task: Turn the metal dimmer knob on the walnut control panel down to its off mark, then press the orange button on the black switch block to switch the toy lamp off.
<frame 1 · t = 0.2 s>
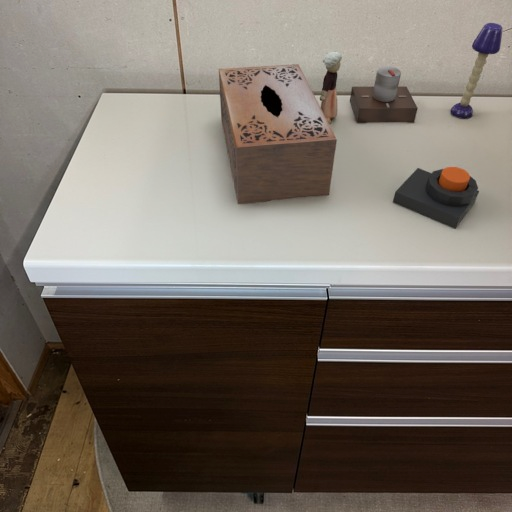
tissue box cover: (269, 155, 83), on the cabinet
lamp switch: (454, 179, 70), point 5 cm above the cabinet, slide at 0.2 cm
dimmer panel: (380, 111, 93), on the cabinet
toy lamp: (461, 115, 93), on the cabinet
switch block: (433, 202, 73), on the cabinet
dimmer knob: (386, 83, 89), point 6 cm above the cabinet, hinge at 100.0°
grandmother figurine: (326, 118, 92), on the cabinet
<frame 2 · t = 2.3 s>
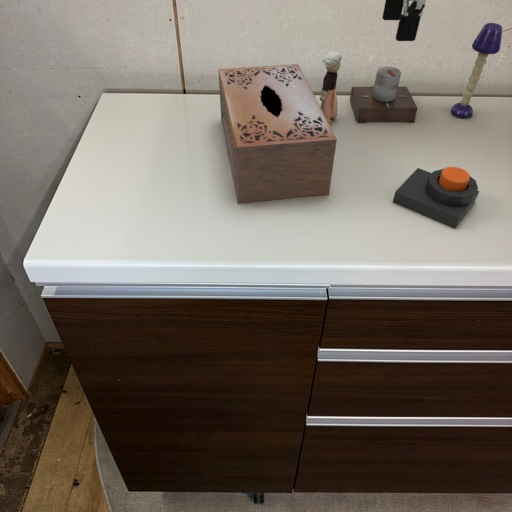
hand: (397, 29, 82), 16 cm above the cabinet, tool pointing down, fingers open, 9 cm apart
nothing on the cabinet moved.
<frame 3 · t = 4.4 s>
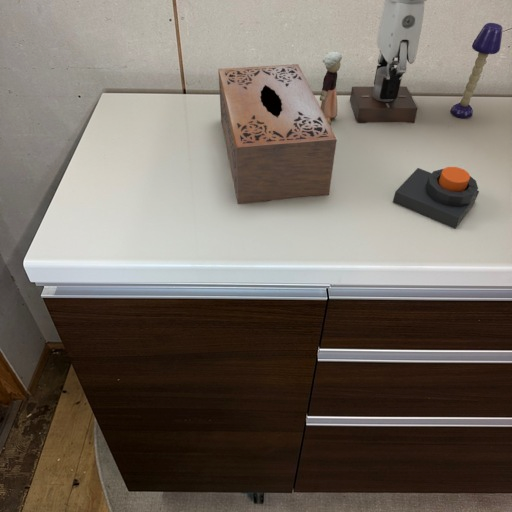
hand: (385, 91, 91), 4 cm above the cabinet, tool pointing down, fingers closed on dimmer knob, 4 cm apart
dimmer knob: (386, 83, 89), point 6 cm above the cabinet, hinge at 100.0°, touching gripper
everything else where it was.
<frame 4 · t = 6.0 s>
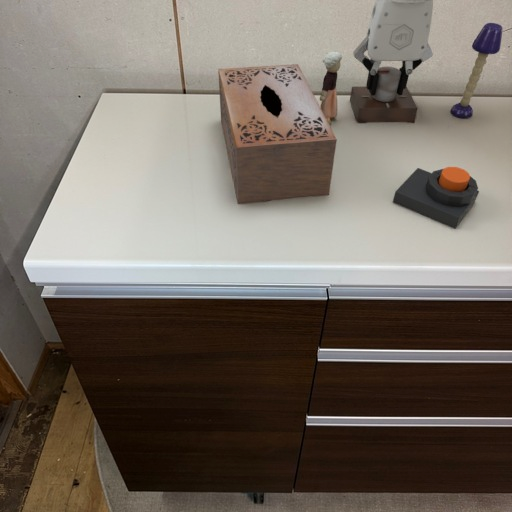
hand: (385, 91, 91), 4 cm above the cabinet, tool pointing down, fingers closed on dimmer knob, 4 cm apart
dimmer knob: (386, 83, 89), point 6 cm above the cabinet, hinge at 10.0°, touching gripper
everything else where it was.
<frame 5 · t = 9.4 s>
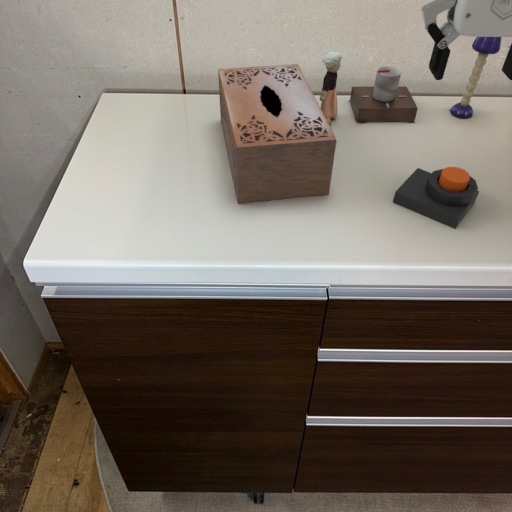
hand: (472, 75, 63), 18 cm above the cabinet, tool pointing down, fingers open, 9 cm apart
dimmer knob: (386, 83, 89), point 6 cm above the cabinet, hinge at 10.7°
everything else where it was.
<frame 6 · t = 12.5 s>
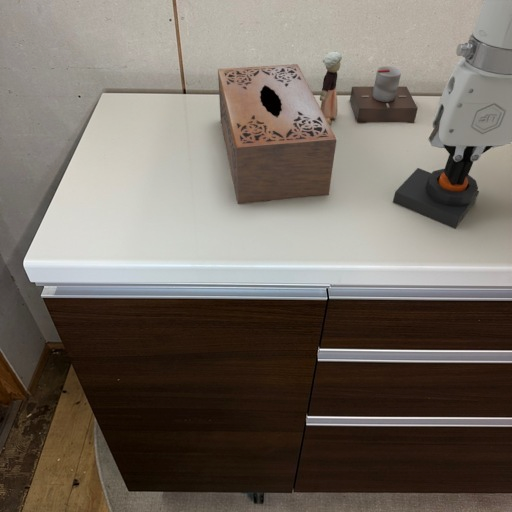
hand: (453, 179, 70), 5 cm above the cabinet, tool pointing down, fingers closed
lamp switch: (452, 183, 70), point 4 cm above the cabinet, slide at -0.7 cm, touching gripper
everything else where it was.
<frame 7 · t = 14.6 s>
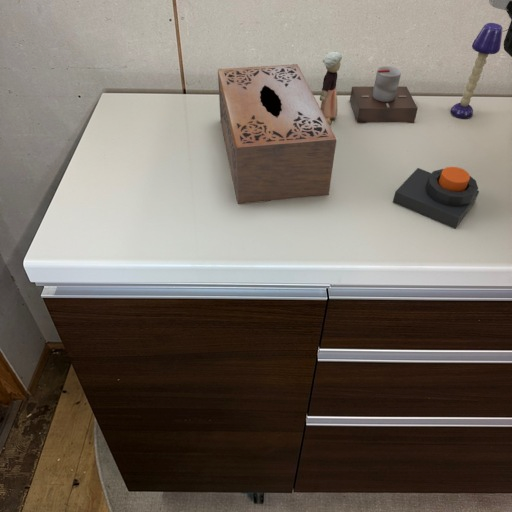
lamp switch: (454, 179, 70), point 5 cm above the cabinet, slide at 0.1 cm
everything else where it was.
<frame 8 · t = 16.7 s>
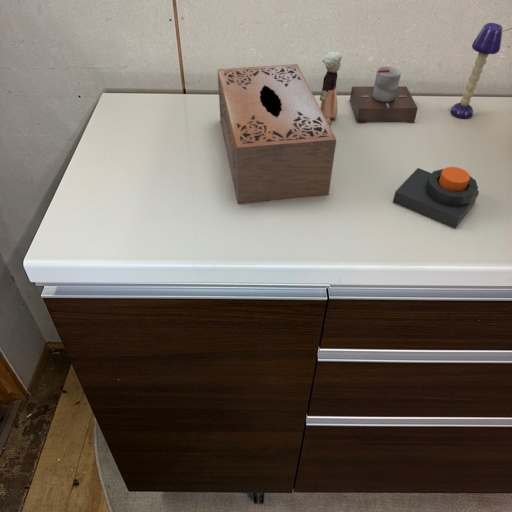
nothing on the cabinet moved.
at the end: dimmer knob at +11° (first picture: +100°); lamp switch pushed in 1.1 cm at the most during the clip, back to where it started at the end; lamp switch slide at 0.1 cm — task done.
